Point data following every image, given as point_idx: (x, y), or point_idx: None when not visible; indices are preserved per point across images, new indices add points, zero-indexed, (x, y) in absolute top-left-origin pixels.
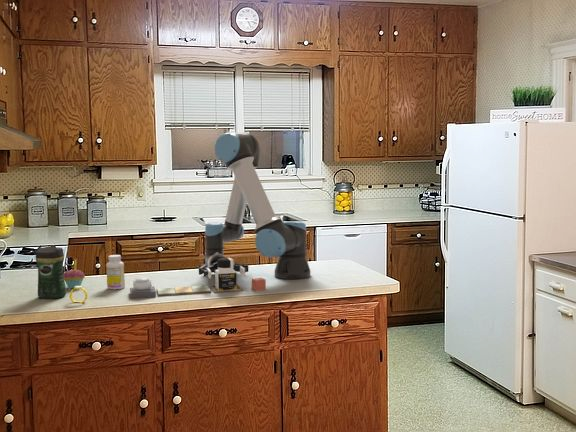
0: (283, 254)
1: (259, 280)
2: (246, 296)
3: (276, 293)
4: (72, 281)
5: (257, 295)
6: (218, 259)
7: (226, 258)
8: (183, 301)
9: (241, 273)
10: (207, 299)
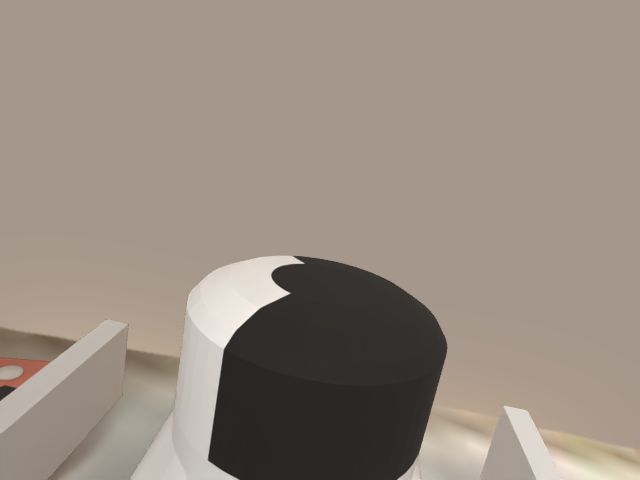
0: None
1: (12, 361)
2: None
3: (16, 342)
4: None
5: (151, 362)
6: (435, 330)
7: (313, 273)
8: (617, 453)
9: (68, 444)
10: (469, 424)
